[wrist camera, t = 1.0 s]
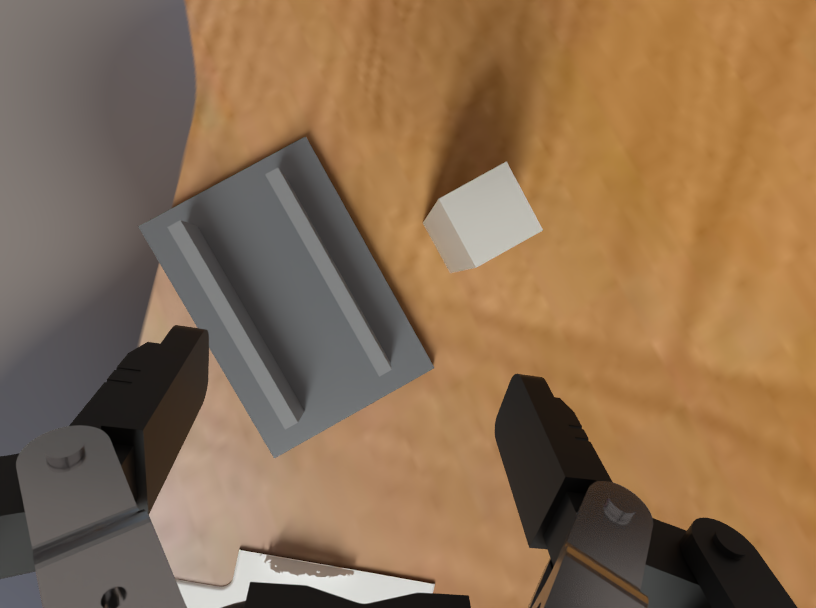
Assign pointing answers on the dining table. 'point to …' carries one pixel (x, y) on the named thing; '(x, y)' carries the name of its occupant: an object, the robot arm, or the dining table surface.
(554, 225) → the dining table surface
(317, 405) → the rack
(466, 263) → the block
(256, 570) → the tray
